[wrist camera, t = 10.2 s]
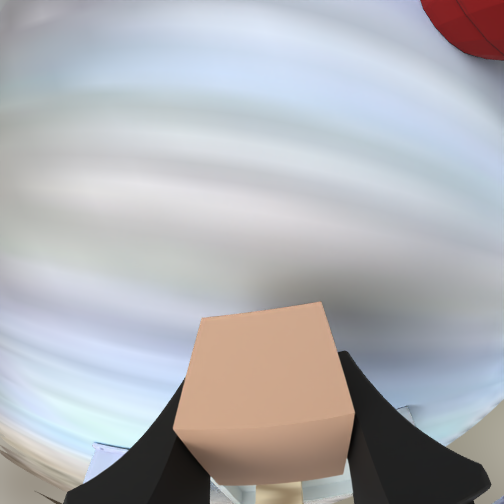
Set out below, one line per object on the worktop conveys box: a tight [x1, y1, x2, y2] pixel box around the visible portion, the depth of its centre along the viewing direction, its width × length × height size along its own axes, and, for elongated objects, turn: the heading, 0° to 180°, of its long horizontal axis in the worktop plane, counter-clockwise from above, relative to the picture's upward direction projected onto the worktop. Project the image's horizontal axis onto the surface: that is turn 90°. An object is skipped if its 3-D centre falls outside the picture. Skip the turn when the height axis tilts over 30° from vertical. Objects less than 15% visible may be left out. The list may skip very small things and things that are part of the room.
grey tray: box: [210, 406, 415, 504], centre depth 22 cm, size 18×16×2 cm
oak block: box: [255, 481, 304, 504], centre depth 21 cm, size 4×4×5 cm
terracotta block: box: [173, 301, 355, 486], centre depth 9 cm, size 4×4×5 cm
